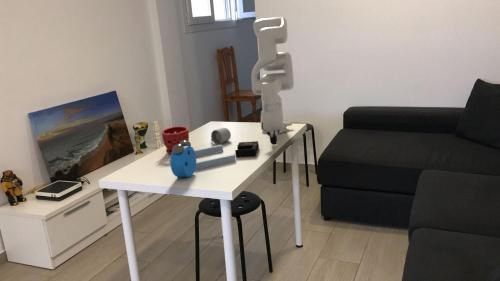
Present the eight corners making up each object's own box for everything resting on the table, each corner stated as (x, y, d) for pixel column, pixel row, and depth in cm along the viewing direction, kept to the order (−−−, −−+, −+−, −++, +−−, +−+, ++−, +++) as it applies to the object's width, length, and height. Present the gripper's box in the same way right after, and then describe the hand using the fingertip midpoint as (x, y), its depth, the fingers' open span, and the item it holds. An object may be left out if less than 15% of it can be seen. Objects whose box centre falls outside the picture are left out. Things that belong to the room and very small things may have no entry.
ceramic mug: (232, 140, 238) (230, 126, 236) (222, 145, 232) (220, 130, 230) (218, 139, 244) (216, 125, 242) (207, 143, 238) (205, 129, 236)
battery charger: (239, 150, 222) (238, 142, 221) (259, 148, 221) (258, 141, 219) (235, 158, 210) (234, 150, 209) (256, 157, 208) (255, 149, 207)
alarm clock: (185, 170, 199) (181, 138, 195) (198, 170, 197) (194, 137, 193) (172, 181, 187) (167, 147, 183) (186, 182, 185) (180, 147, 181)
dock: (222, 150, 223) (221, 144, 222) (235, 161, 205) (235, 154, 204) (185, 158, 217) (184, 152, 216) (196, 169, 199) (195, 163, 198)
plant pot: (159, 154, 227) (156, 131, 224) (180, 147, 236) (176, 125, 233) (175, 158, 218) (172, 134, 215) (196, 150, 227) (193, 127, 224)
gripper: (281, 103, 222) (284, 139, 227) (253, 108, 217) (256, 145, 222) (288, 105, 215) (290, 142, 220) (259, 111, 210) (262, 148, 215)
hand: (273, 143), depth 221 cm, fingers closed
